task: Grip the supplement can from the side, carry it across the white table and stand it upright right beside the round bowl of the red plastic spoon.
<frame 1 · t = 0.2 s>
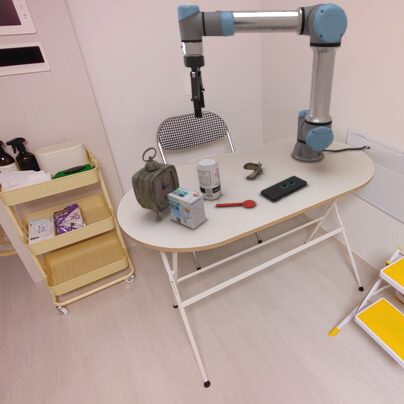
hand: (200, 112, 123), 28 cm above the table, tool pointing down, fingers open, 13 cm apart
light bulb box: (189, 220, 109), on the table
red spoon: (249, 204, 117), on the table
smart home device: (284, 190, 126), on the table
tabletop clock: (161, 211, 114), on the table
supplement can: (211, 195, 123), on the table
eagle figurine: (255, 175, 136), on the table
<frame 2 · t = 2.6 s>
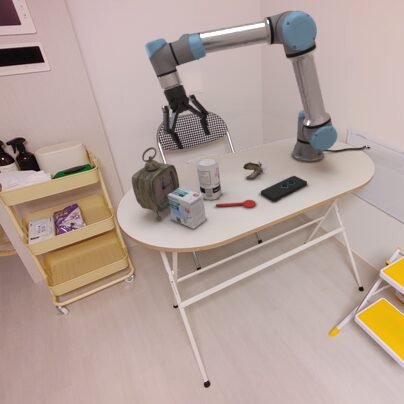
hand: (194, 141, 120), 19 cm above the table, tool tilted 15°, fingers open, 13 cm apart
nothing on the table moved.
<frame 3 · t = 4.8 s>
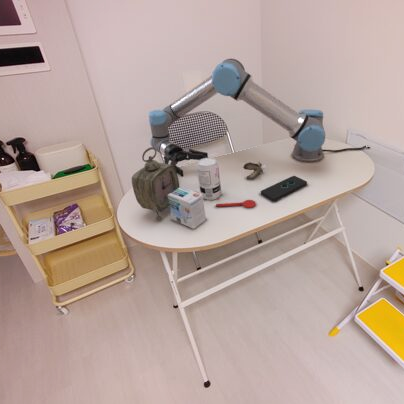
hand: (197, 168, 124), 9 cm above the table, tool horizontal, fingers open, 13 cm apart
nothing on the table moved.
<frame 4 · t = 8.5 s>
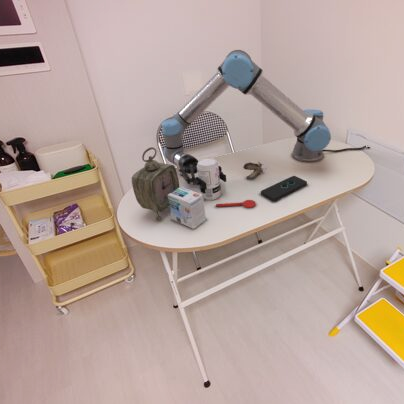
hand: (215, 182, 115), 8 cm above the table, tool horizontal, fingers closed on supplement can, 8 cm apart
supplement can: (211, 195, 123), on the table, touching gripper
everything else where it was.
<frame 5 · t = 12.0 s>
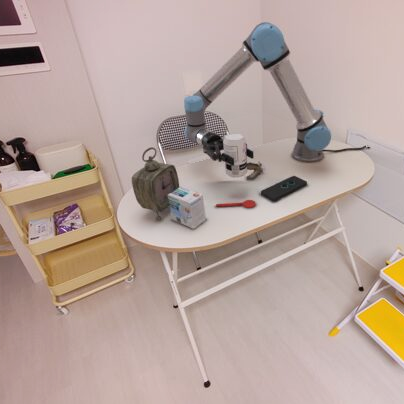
hand: (243, 158, 110), 18 cm above the table, tool horizontal, fingers closed on supplement can, 8 cm apart
supplement can: (236, 173, 117), point 10 cm above the table, touching gripper
everything else where it was.
when the fingers open (8 cm above the table, at t = 15.5 s): supplement can stays where it is, on the table.
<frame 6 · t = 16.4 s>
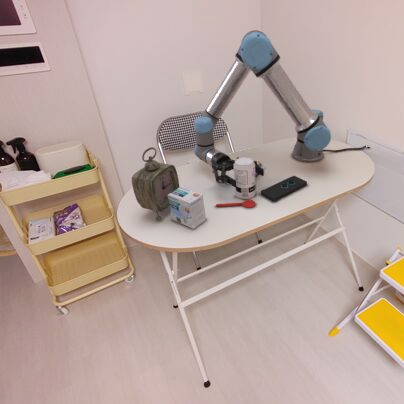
hand: (249, 178, 116), 9 cm above the table, tool horizontal, fingers open, 13 cm apart
supplement can: (245, 195, 123), on the table
everything else where it was.
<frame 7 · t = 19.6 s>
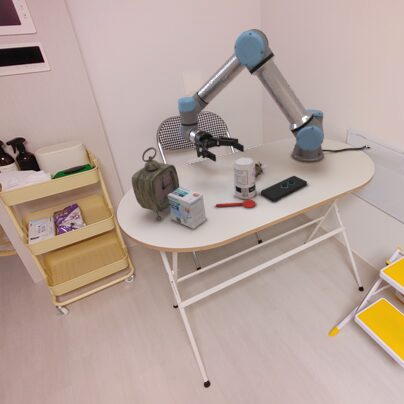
hand: (229, 153, 121), 15 cm above the table, tool horizontal, fingers open, 13 cm apart
nothing on the table moved.
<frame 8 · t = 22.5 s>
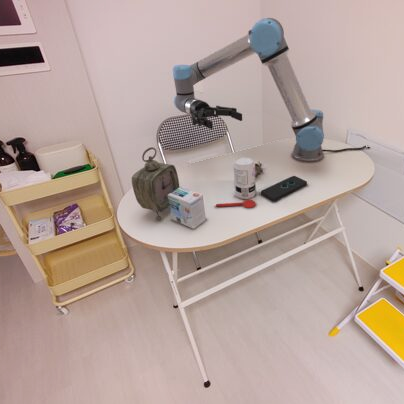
hand: (227, 121, 113), 28 cm above the table, tool horizontal, fingers open, 13 cm apart
nothing on the table moved.
at the end: supplement can 7.5 cm from the red spoon (horizontally); supplement can tilted 0°; supplement can moved 14.0 cm from its start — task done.
